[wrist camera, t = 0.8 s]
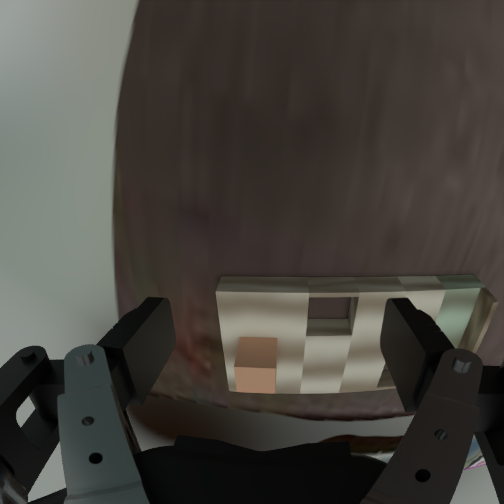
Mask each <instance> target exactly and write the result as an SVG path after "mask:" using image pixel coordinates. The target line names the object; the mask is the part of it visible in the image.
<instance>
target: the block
mask: <svg viewBox="0 0 504 504" xmlns="http://www.w3.org/2000/svg"><path fill="white" fill-rule="evenodd" d="M276 372H277V338H263V337H240V338H239V343H238V348H237V353H236V358H235V363H234V374H235V382H236V389H237V392H250V393H275V388H276Z"/></svg>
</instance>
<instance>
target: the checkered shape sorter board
mask: <svg viewBox="0 0 504 504" xmlns="http://www.w3.org/2000/svg"><path fill="white" fill-rule="evenodd" d="M309 297H351V302H350V308H349V314H348V318H347V319H307V316H308V302H309ZM403 297H407V298H409V300H410V301H411V302H412V303H413V305H414V306H415V307H416V309H417V310H419V309H420V310H422V311H423V312H425V313H427V314H428V315H430V316H431V317H432V319H433V320H434V321H435V322H436V325H438V326H439V327H440V329H441V331H443V332H444V334H445V335H446V336H447V338H448V339H449V340H450V342H451V343H452V344H453V346H454V347H455V348H460V349H466V350H469V351H471V352H473V353H475V354H476V352H477V350H478V348H479V345H480V343H481V341H482V339H483V337H484V335H485V333H486V330H487V328H488V326H489V323H490V321H491V319H492V316H493V314H494V311H495V309H496V306H497V304H498V301H497V300H496V299H495V298H494V296H493V295H492V294H491V293H490V292H489V291H488V289H487V288H486V287H485V286H484V285H483V284H482V283H481V282H480V280H479V279H478V278H477V277H476V276H475V275H444V276H396V277H248V276H221V278H220V281H219V284H218V287H217V289H216V298H217V306H218V314H219V321H220V329H221V336H222V344H223V351H224V358H225V365H226V371H227V378H228V385H229V391H237V389H236V382H235V374H234V363H235V358H236V353H237V348H238V343H239V338H240V337H263V338H277V372H276V388H275V393H288V394H308V393H342V392H359V391H372V390H383V389H393V388H396V386H395V384H394V381H393V379H392V376H391V374H390V371H389V370H386V371H383V368H384V365H385V359H384V357H383V355H382V352H381V349H380V334H381V329H382V323H383V317H384V311H385V305H386V301H387V299H388V298H403Z"/></svg>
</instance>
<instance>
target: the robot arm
mask: <svg viewBox="0 0 504 504" xmlns="http://www.w3.org/2000/svg"><path fill="white" fill-rule="evenodd" d="M175 340H176V336H175V329H174V324H173V318H172V312H171V306H170V302H169V300H168V299H167V298H159V297H148V298H146V299H145V300H144V302H143V303H142V304H141V305H140V306H139V307H138V308H137V309H134V310H132V311H130V312H128V313H127V314H125V315H124V316H123V317H122V318H121V319H120V320H119V321H118V323H116V324H115V325H114V326H113V329H111V330H110V331H109V332H108V333H107V334H106V335H105V336H104V337H103V338H102V339H101V340H100V341H99V342H98V343H97V344H96V345H93V344H88V345H82V346H79V347H76V348H74V349H72V350H71V351H70V352H69V353H67V355H66V356H65V358H64V360H49V358H48V355H47V353H46V350H45V349H44V348H43V347H41V346H30V347H26V348H23V349H21V350H20V351H18V352H17V353H16V354H15V355H14V356H13V357H11V358H10V359H9V361H7V362H6V363H5V364H4V365H3V366H2V367H1V368H0V504H450V502H451V499H452V497H453V495H454V492H455V490H456V487H457V485H458V482H459V479H460V477H461V474H462V471H463V468H464V465H465V462H466V459H467V456H468V453H469V450H470V446H471V443H472V440H473V436H474V435H475V437H476V440H477V442H478V445H479V447H480V450H481V452H482V455H483V457H484V460H485V462H486V465H487V468H488V470H489V473H490V476H491V479H492V482H493V485H494V488H495V490H496V494H497V497H498V500H499V503H500V504H504V360H503V362H502V365H501V366H483V363H482V360H481V359H480V358H479V357H478V356H477V355H476V354H475V353H473V352H471V351H469V350H466V349H460V348H455V347H454V346H453V344H452V343H451V342H450V340H449V339H448V338H447V336H446V335H445V334H444V332H443V331H441V329H440V327H439V326H438V325H436V322H435V321H434V320H433V319H432V317H431V316H430V315H428V314H427V313H425V312H423V311H422V310H420V309H419V310H417V309H416V307H415V306H414V305H413V303H412V302H411V301H410V300H409V298H407V297H403V298H388V299H387V301H386V305H385V311H384V317H383V323H382V329H381V334H380V349H381V352H382V355H383V357H384V359H385V362H386V364H387V367H388V369H389V371H390V374H391V376H392V379H393V381H394V384H395V386H396V389H397V391H398V394H399V396H400V399H401V401H402V404H403V407H404V409H405V412H412V411H417V412H416V414H415V416H414V418H413V420H412V422H411V424H410V425H409V427H408V429H407V431H406V433H405V435H404V437H403V438H402V440H401V442H400V444H399V445H398V447H397V449H396V451H395V452H394V454H393V456H392V457H391V459H390V461H389V462H388V464H387V463H385V462H383V461H381V460H378V459H376V458H373V457H370V456H366V455H362V454H357V453H351V450H350V444H349V441H345V442H330V443H307V444H302V445H297V446H292V447H287V448H282V449H276V450H270V451H262V452H261V451H255V450H251V449H248V448H244V447H240V446H237V445H233V444H230V443H226V442H223V441H220V440H215V439H205V438H198V437H191V436H184V435H177V438H176V441H175V443H174V446H163V447H157V448H152V449H148V450H145V451H141V448H140V446H139V443H138V441H137V438H136V435H135V433H134V430H133V427H132V424H131V421H130V419H129V416H128V413H127V411H126V407H127V405H128V404H133V405H138V406H142V404H143V403H144V401H145V399H146V397H147V396H148V394H149V392H150V390H151V388H152V387H153V385H154V383H155V381H156V380H157V378H158V376H159V374H160V372H161V371H162V369H163V367H164V365H165V364H166V362H167V360H168V358H169V357H170V355H171V353H172V351H173V349H174V347H175ZM28 396H29V397H30V399H31V401H32V403H33V404H34V406H35V408H36V409H35V410H34V411H33V413H32V414H31V415H30V417H29V418H28V419H27V420H26V422H25V423H24V424H23V426H22V427H21V428H20V426H19V425H18V423H17V420H16V412H17V410H18V408H19V407H20V406H21V404H22V403H23V402H24V401H25V399H26V398H27V397H28ZM59 441H60V445H61V455H62V462H63V469H64V475H65V482H66V488H64V489H62V490H59V491H57V492H54V493H52V494H49V495H47V496H44V497H42V498H39V499H36V500H34V501H31V502H28V493H29V492H30V490H31V488H32V486H33V485H34V483H35V481H36V479H37V478H38V476H39V474H40V473H41V471H42V469H43V468H44V466H45V464H46V463H47V461H48V459H49V458H50V456H51V454H52V453H53V451H54V450H55V448H56V446H57V444H58V443H59Z"/></svg>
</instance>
